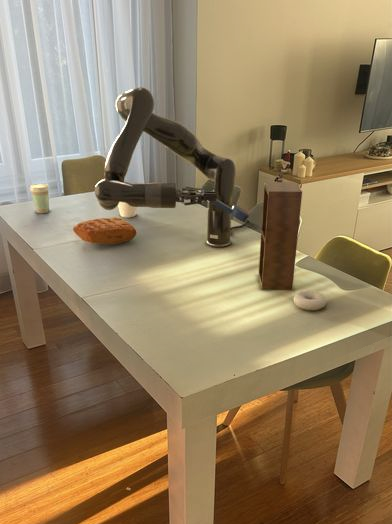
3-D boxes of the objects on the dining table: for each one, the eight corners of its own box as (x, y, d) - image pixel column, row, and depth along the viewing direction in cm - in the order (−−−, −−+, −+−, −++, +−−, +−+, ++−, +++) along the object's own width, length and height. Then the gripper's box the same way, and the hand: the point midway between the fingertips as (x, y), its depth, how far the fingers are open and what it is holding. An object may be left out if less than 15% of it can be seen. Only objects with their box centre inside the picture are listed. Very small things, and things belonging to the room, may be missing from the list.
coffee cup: (49, 214, 250) (46, 187, 244) (31, 214, 250) (27, 187, 244) (54, 209, 257) (50, 183, 251) (36, 208, 258) (32, 183, 251)
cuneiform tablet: (89, 253, 206) (87, 232, 202) (72, 240, 219) (69, 221, 215) (140, 242, 217) (139, 223, 213) (121, 231, 229) (120, 212, 225)
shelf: (261, 289, 178) (268, 191, 162) (258, 275, 188) (264, 181, 172) (292, 289, 178) (302, 191, 162) (287, 275, 188) (296, 182, 172)
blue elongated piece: (198, 196, 165) (202, 188, 164) (198, 191, 170) (202, 184, 169) (246, 224, 170) (250, 217, 169) (244, 218, 175) (248, 212, 174)
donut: (287, 307, 166) (318, 315, 162) (288, 297, 165) (319, 304, 160) (300, 296, 174) (330, 302, 169) (301, 286, 172) (331, 292, 167)
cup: (127, 210, 256) (125, 183, 250) (146, 214, 250) (145, 187, 244) (109, 216, 248) (107, 188, 242) (129, 220, 242) (127, 192, 236)
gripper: (158, 188, 160) (217, 189, 160) (161, 178, 172) (215, 178, 172) (159, 213, 164) (216, 214, 164) (162, 201, 176) (215, 202, 176)
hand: (215, 196), depth 168 cm, fingers closed on blue elongated piece, 2 cm apart
